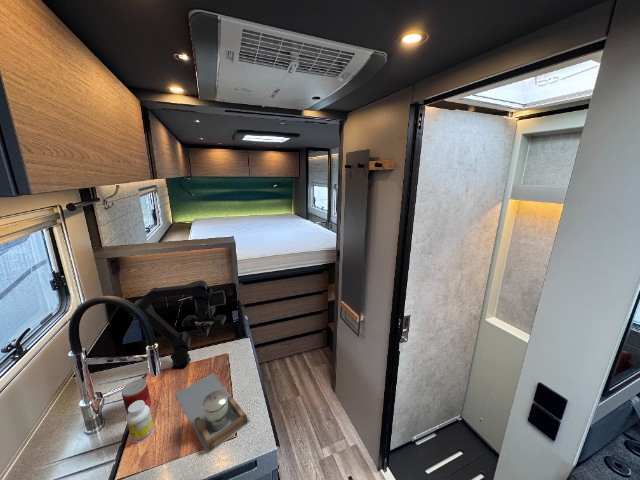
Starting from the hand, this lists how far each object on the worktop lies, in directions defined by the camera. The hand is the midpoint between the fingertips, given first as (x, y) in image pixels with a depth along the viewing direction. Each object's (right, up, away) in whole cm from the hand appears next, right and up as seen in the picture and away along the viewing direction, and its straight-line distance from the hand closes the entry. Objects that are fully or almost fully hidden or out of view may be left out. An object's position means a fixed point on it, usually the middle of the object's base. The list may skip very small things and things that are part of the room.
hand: (206, 335), depth 123 cm
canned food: (-16, -20, -24) cm, 35 cm away
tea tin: (+17, -21, -29) cm, 40 cm away
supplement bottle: (-8, -23, -33) cm, 41 cm away
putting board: (+12, -20, -23) cm, 33 cm away
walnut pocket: (+19, -21, -30) cm, 41 cm away
